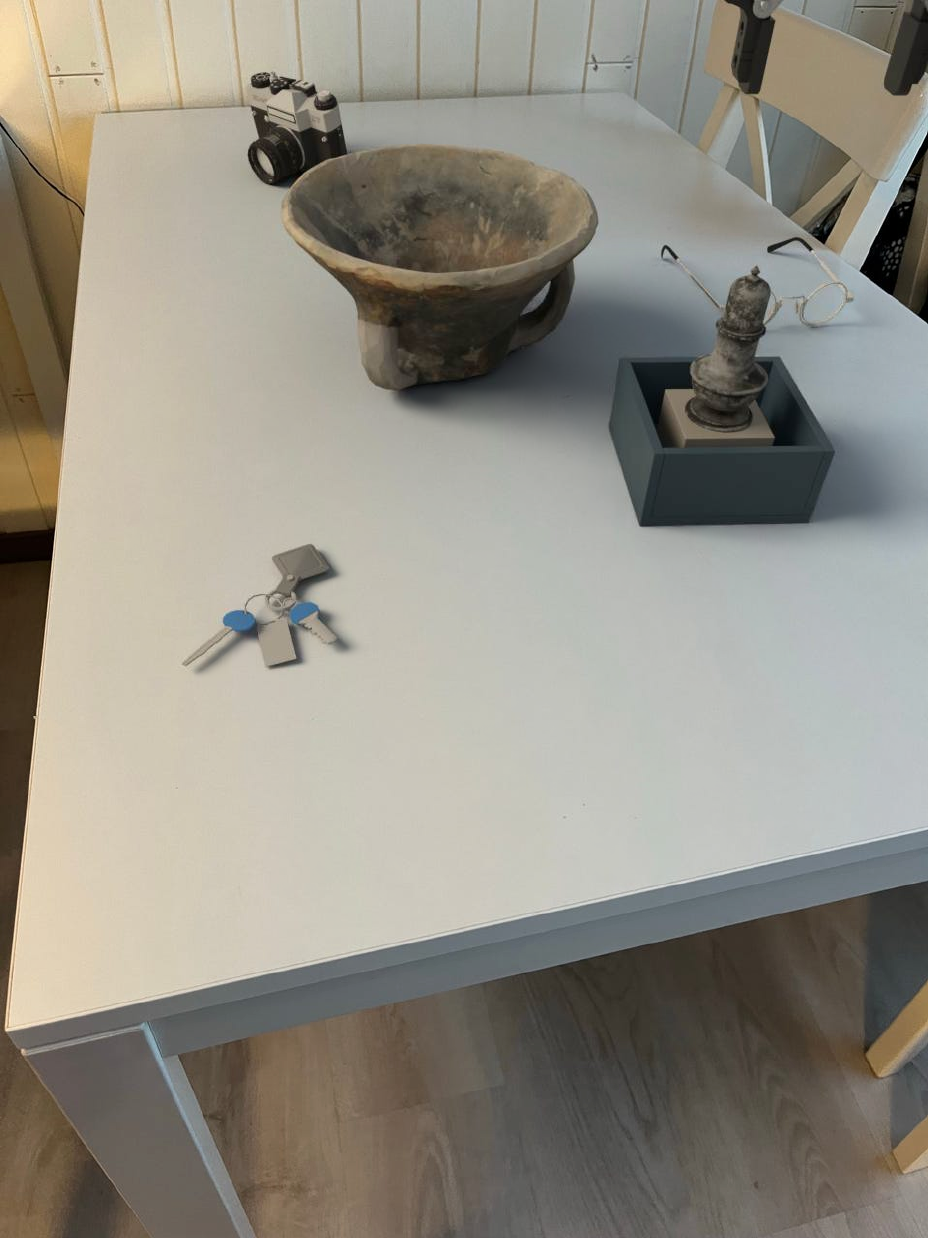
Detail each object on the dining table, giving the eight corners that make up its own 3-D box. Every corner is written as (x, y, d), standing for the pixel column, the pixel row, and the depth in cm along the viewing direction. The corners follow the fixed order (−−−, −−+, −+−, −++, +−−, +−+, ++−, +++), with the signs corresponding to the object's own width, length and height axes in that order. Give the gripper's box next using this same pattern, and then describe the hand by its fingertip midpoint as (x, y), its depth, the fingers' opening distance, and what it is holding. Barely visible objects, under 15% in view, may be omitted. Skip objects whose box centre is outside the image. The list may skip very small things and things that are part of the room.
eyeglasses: (711, 340, 95) (722, 293, 91) (648, 258, 108) (655, 213, 104) (857, 329, 98) (873, 282, 94) (778, 250, 110) (790, 206, 107)
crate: (759, 425, 84) (779, 355, 80) (809, 523, 75) (836, 451, 70) (607, 426, 83) (619, 357, 79) (639, 526, 74) (654, 453, 69)
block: (735, 439, 81) (749, 388, 78) (758, 489, 76) (775, 437, 73) (654, 440, 81) (665, 388, 77) (673, 491, 76) (685, 438, 72)
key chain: (289, 541, 71) (288, 533, 70) (389, 572, 69) (389, 564, 68) (181, 669, 62) (178, 660, 61) (292, 709, 60) (291, 700, 59)
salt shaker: (676, 391, 77) (708, 245, 69) (749, 394, 77) (789, 249, 69) (686, 432, 73) (721, 283, 64) (763, 436, 73) (808, 286, 64)
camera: (225, 175, 124) (201, 95, 116) (285, 138, 128) (266, 59, 120) (302, 207, 117) (282, 125, 109) (362, 167, 122) (348, 86, 114)
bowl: (442, 475, 78) (446, 302, 67) (238, 355, 90) (214, 192, 79) (633, 357, 92) (662, 199, 82) (435, 267, 104) (437, 119, 94)
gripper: (793, -309, 40) (714, 112, 51) (1122, -301, 40) (971, 113, 52) (746, -312, 45) (684, 70, 57) (1038, -304, 46) (918, 72, 57)
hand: (822, 90), depth 54 cm, fingers open, 8 cm apart
